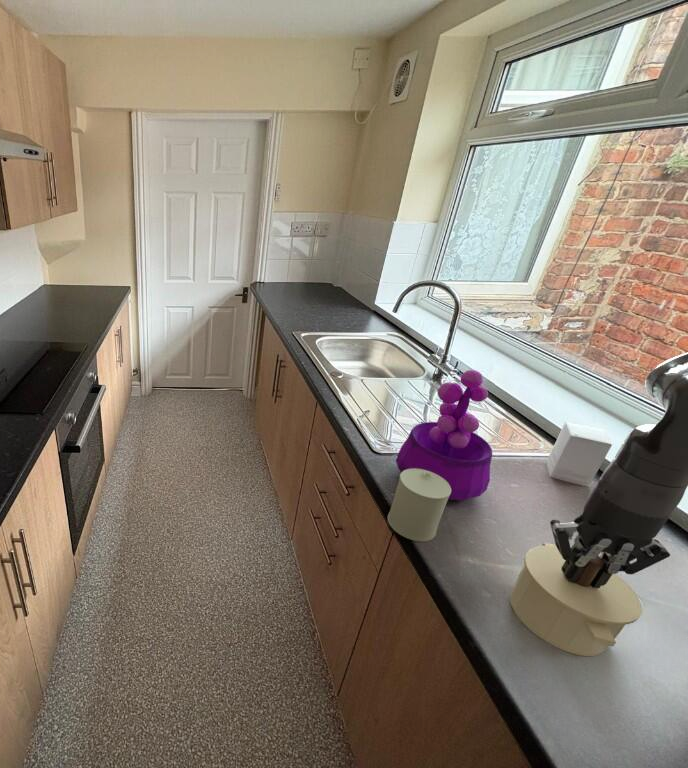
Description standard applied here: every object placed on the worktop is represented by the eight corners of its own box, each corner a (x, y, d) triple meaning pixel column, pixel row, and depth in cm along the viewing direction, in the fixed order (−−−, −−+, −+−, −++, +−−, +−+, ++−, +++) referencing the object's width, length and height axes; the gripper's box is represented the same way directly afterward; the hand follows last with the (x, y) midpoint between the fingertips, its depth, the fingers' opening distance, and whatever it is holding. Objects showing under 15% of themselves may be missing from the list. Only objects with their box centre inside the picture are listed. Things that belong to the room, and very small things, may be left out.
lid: (607, 563, 70) (625, 536, 67) (661, 640, 58) (685, 612, 55) (510, 542, 74) (523, 516, 71) (542, 610, 62) (559, 583, 59)
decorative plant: (391, 495, 96) (425, 380, 83) (393, 452, 111) (421, 348, 98) (488, 521, 89) (542, 399, 75) (476, 471, 104) (519, 361, 90)
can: (437, 520, 89) (454, 476, 84) (433, 548, 83) (450, 503, 77) (391, 503, 94) (403, 460, 89) (383, 529, 87) (396, 485, 82)
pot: (576, 583, 75) (597, 550, 71) (635, 686, 60) (666, 651, 56) (495, 564, 79) (511, 532, 75) (531, 657, 64) (553, 622, 60)
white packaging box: (588, 489, 97) (613, 445, 92) (548, 478, 101) (570, 435, 95) (582, 472, 103) (605, 429, 97) (544, 462, 106) (564, 420, 101)
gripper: (584, 503, 57) (536, 587, 64) (721, 527, 52) (652, 615, 60) (560, 469, 63) (519, 550, 71) (680, 489, 59) (622, 573, 66)
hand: (580, 580), depth 65 cm, fingers closed on lid, 2 cm apart
